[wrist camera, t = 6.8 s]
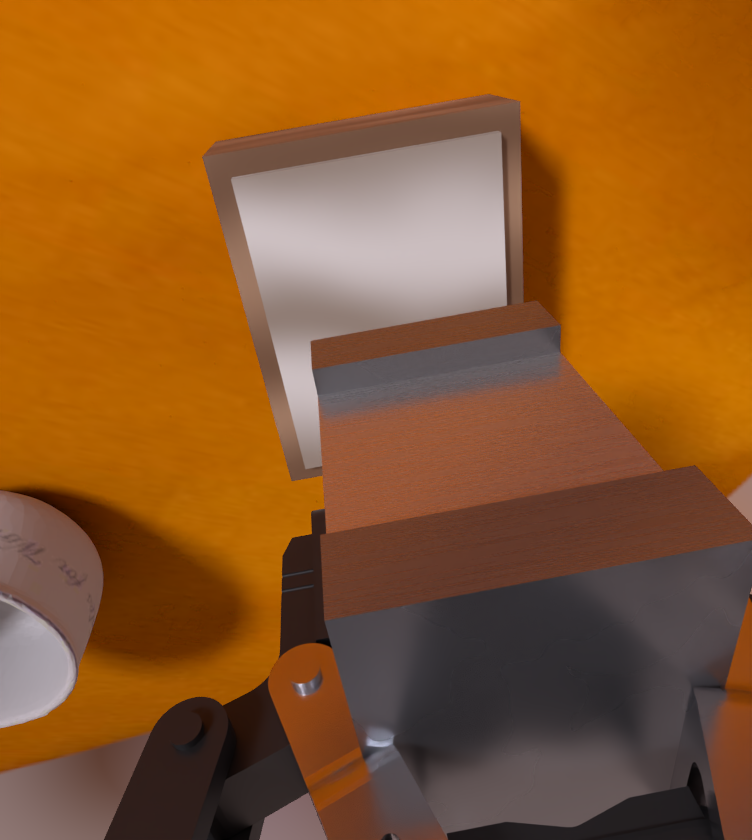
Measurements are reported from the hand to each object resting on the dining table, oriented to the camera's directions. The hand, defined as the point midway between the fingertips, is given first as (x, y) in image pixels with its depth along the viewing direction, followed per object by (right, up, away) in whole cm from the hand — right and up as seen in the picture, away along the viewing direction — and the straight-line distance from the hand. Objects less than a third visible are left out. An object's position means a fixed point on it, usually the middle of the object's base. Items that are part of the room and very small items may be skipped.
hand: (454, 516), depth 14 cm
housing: (0, +1, +1) cm, 2 cm away
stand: (-2, +8, +14) cm, 16 cm away
